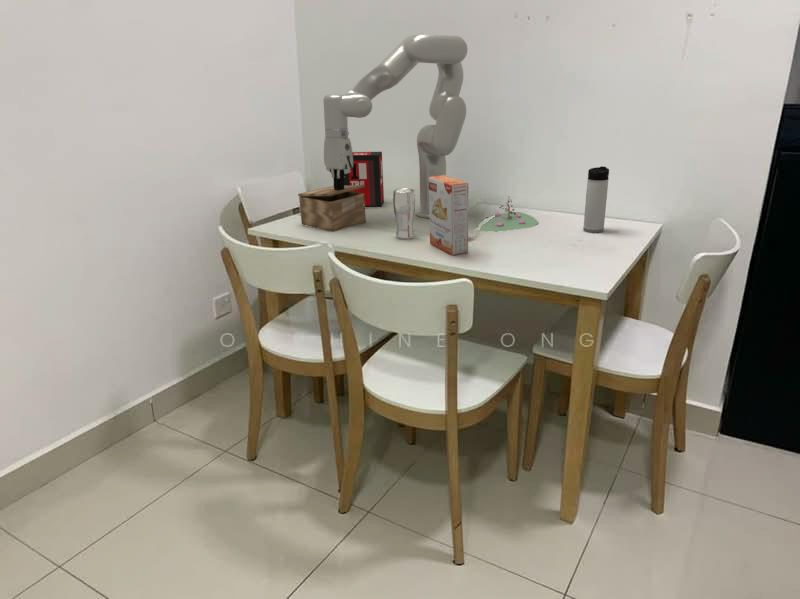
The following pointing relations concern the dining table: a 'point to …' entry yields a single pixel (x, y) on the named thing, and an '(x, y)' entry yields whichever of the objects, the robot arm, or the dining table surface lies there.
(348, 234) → the dining table surface
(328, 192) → the lid
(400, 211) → the beer glass
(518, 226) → the plant
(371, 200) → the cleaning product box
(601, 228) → the travel mug
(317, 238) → the dining table surface
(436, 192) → the cracker box
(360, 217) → the box
